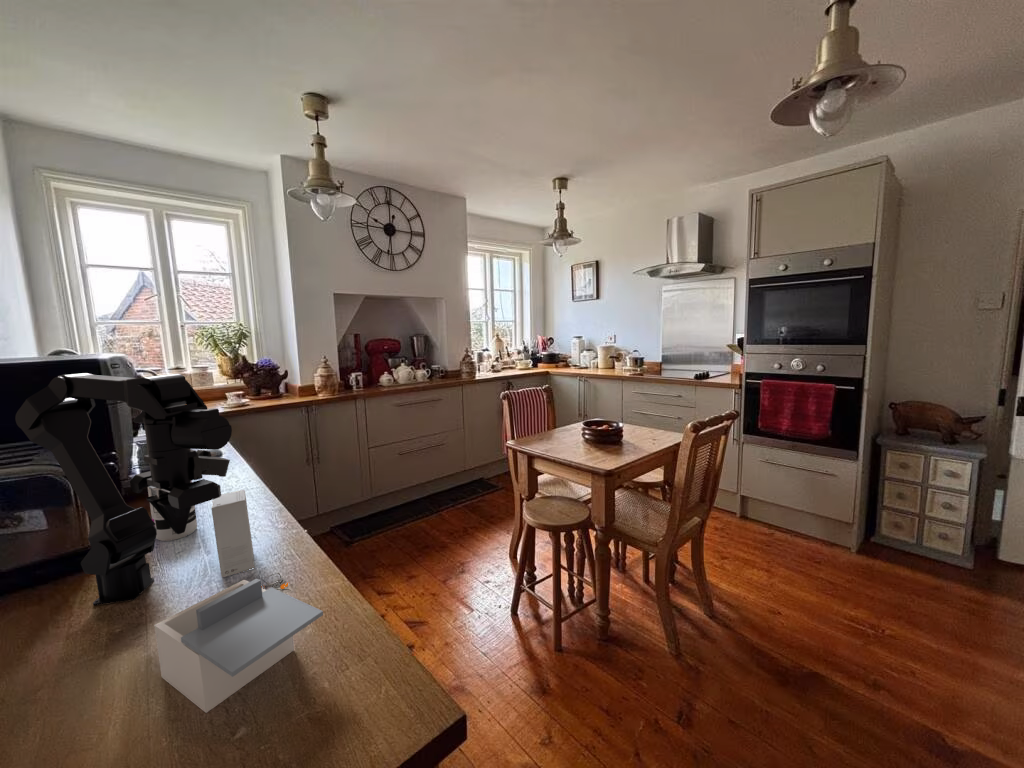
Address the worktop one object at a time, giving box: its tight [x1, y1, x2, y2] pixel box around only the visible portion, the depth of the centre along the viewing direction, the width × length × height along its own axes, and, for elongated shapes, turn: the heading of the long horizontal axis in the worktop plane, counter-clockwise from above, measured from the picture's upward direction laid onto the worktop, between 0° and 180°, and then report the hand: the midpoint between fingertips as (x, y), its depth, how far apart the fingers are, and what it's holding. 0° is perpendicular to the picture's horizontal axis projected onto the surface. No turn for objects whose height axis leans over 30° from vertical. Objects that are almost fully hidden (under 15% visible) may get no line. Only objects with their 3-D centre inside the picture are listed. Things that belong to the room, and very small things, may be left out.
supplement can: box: [147, 480, 198, 542], centre depth 101 cm, size 8×8×15 cm
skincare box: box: [211, 489, 255, 578], centre depth 87 cm, size 8×6×15 cm
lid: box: [181, 578, 324, 677], centre depth 56 cm, size 12×12×3 cm
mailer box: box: [153, 579, 295, 714], centre depth 61 cm, size 12×12×8 cm
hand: (180, 532), depth 75 cm, fingers closed
